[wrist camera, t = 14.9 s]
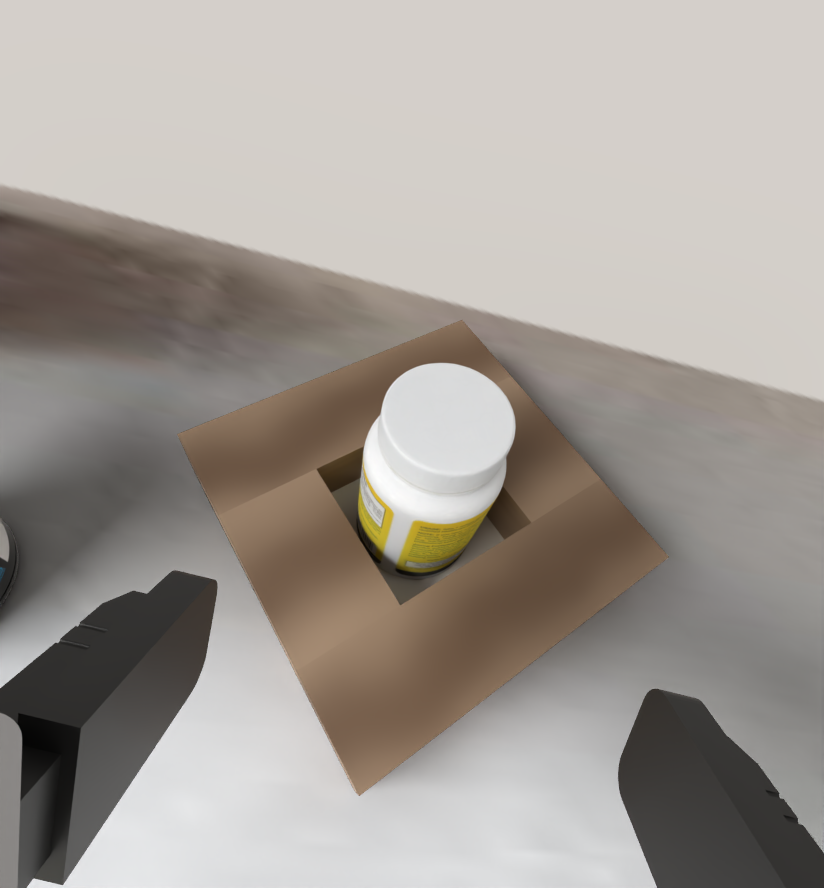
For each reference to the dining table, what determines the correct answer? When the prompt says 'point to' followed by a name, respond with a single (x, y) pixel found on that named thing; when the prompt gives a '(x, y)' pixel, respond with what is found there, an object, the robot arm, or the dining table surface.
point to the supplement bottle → (432, 468)
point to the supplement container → (7, 560)
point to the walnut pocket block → (400, 599)
